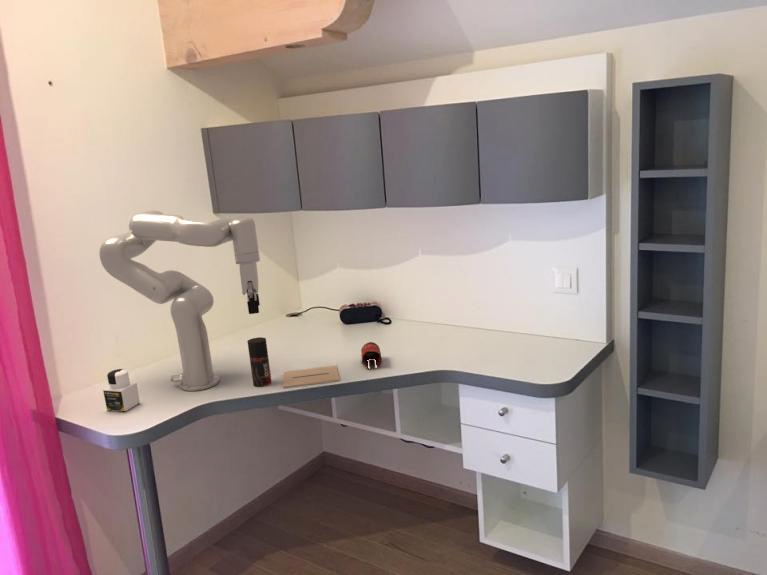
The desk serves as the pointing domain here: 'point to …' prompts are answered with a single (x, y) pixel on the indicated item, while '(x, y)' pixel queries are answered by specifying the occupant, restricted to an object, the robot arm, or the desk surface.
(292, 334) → the desk surface
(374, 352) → the beverage can
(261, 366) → the deodorant
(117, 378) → the medicine bottle
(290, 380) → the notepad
